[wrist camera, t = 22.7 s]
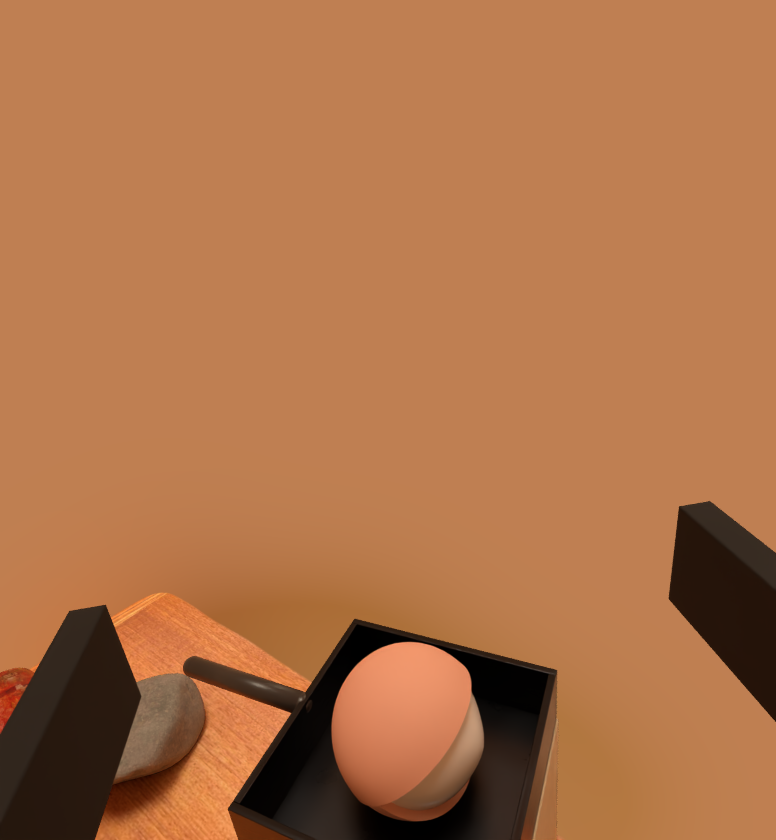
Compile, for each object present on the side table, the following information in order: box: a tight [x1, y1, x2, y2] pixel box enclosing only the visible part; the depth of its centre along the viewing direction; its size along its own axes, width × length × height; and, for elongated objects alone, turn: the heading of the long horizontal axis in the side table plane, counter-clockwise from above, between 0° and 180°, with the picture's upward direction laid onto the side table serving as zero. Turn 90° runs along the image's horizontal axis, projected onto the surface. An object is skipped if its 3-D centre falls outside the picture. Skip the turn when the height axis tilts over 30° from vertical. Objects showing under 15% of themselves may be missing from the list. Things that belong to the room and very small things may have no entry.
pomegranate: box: [0, 668, 34, 733], centre depth 58 cm, size 7×7×10 cm
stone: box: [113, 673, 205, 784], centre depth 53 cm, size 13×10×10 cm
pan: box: [183, 619, 557, 840], centre depth 31 cm, size 22×13×4 cm, turn 65°
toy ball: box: [332, 642, 484, 821], centre depth 28 cm, size 8×8×8 cm
